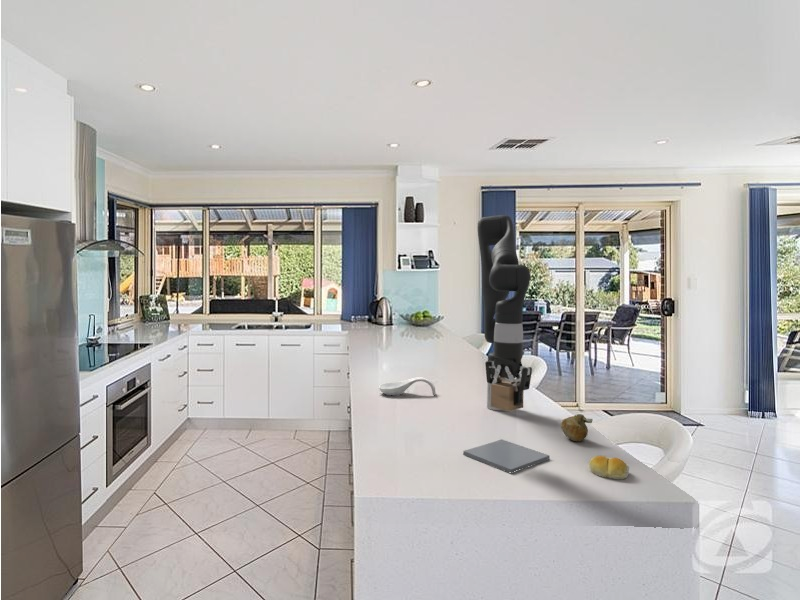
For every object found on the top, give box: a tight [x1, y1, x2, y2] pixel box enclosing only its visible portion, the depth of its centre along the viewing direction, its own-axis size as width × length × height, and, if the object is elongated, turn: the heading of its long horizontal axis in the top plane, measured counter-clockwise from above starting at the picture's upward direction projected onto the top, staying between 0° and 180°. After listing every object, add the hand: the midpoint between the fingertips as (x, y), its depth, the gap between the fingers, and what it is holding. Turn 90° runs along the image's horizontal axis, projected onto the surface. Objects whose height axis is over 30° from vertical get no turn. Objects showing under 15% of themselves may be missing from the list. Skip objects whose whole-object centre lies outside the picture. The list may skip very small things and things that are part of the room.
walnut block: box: [491, 381, 525, 412], centre depth 128 cm, size 6×6×6 cm
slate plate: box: [462, 439, 550, 474], centre depth 128 cm, size 16×16×1 cm
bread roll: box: [588, 455, 630, 480], centre depth 118 cm, size 8×9×4 cm
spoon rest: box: [378, 376, 437, 396], centre depth 199 cm, size 24×12×7 cm, turn 88°
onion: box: [560, 414, 593, 442], centre depth 143 cm, size 8×8×8 cm
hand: (507, 402), depth 128 cm, fingers closed on walnut block, 6 cm apart
